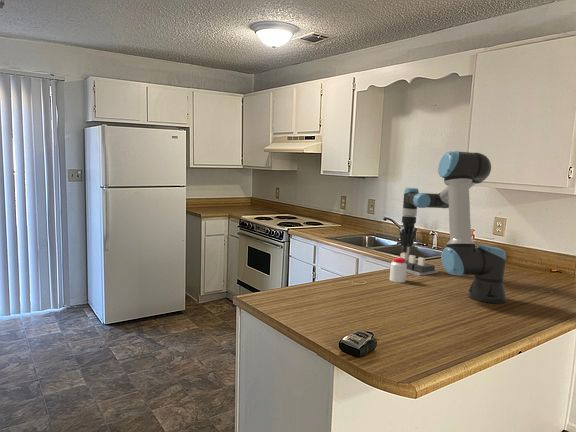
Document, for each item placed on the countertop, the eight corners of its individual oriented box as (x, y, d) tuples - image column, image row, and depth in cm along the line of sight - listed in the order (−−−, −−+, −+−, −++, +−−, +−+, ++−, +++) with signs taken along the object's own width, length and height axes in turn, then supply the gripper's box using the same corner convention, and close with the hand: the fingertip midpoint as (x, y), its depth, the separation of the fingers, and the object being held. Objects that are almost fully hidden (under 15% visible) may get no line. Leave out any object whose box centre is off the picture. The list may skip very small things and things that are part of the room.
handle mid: (415, 263, 237) (415, 256, 236) (413, 263, 235) (413, 256, 235) (410, 262, 239) (411, 254, 238) (408, 262, 238) (409, 255, 237)
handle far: (424, 265, 232) (425, 258, 231) (422, 266, 231) (422, 258, 230) (419, 264, 234) (420, 257, 234) (417, 264, 233) (418, 257, 233)
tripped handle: (406, 260, 241) (407, 253, 241) (404, 261, 240) (404, 253, 240) (402, 259, 244) (402, 252, 243) (400, 260, 243) (400, 252, 242)
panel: (437, 272, 237) (438, 265, 236) (418, 275, 228) (419, 267, 227) (410, 265, 251) (411, 258, 251) (392, 268, 242) (392, 260, 242)
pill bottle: (404, 279, 219) (406, 257, 218) (406, 283, 212) (408, 260, 210) (388, 277, 220) (390, 256, 219) (390, 281, 212) (392, 259, 211)
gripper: (411, 214, 247) (407, 255, 250) (396, 215, 240) (392, 257, 242) (422, 216, 241) (418, 258, 244) (407, 217, 234) (403, 260, 236)
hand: (405, 258), depth 243 cm, fingers closed
